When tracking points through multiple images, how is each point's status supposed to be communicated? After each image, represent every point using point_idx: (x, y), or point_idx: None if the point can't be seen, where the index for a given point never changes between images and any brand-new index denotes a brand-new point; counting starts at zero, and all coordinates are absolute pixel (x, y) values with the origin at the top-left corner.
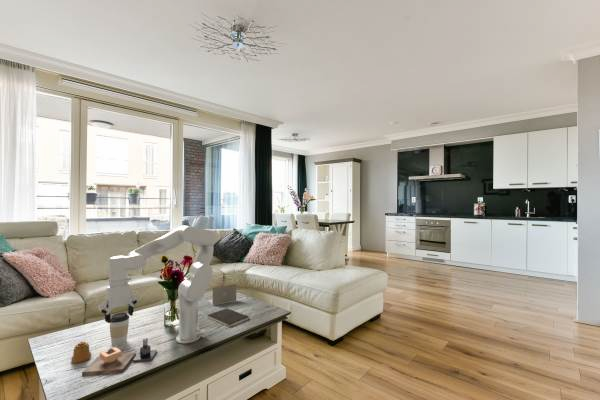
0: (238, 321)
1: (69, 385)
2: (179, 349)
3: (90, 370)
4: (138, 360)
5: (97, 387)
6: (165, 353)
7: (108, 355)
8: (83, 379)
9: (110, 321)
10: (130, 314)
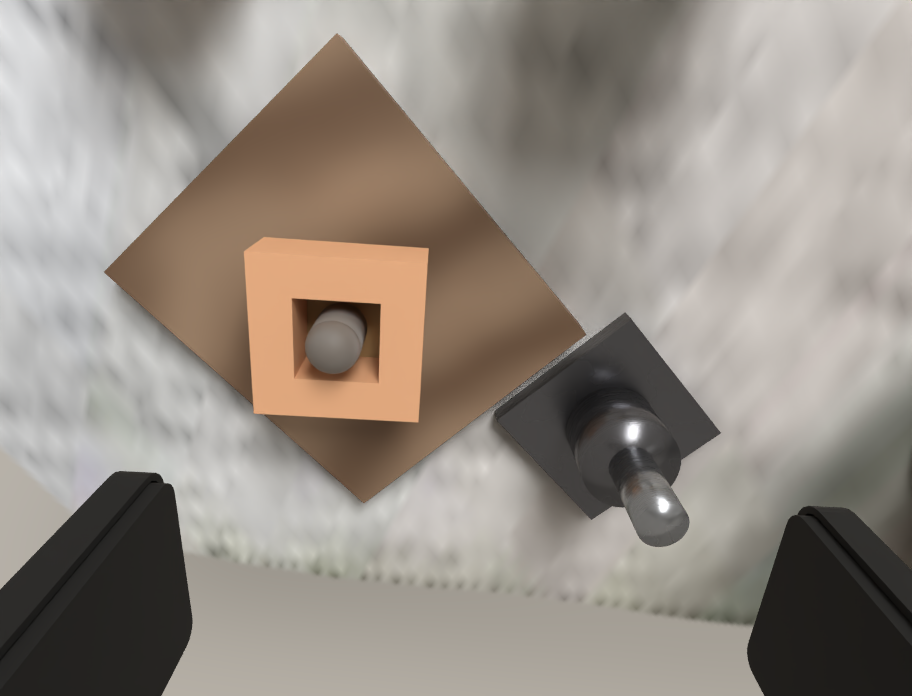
0: None
1: (17, 333)
2: None
3: (169, 309)
4: (527, 448)
5: None
6: (725, 497)
7: (286, 404)
8: (121, 336)
9: (180, 652)
10: (767, 651)
